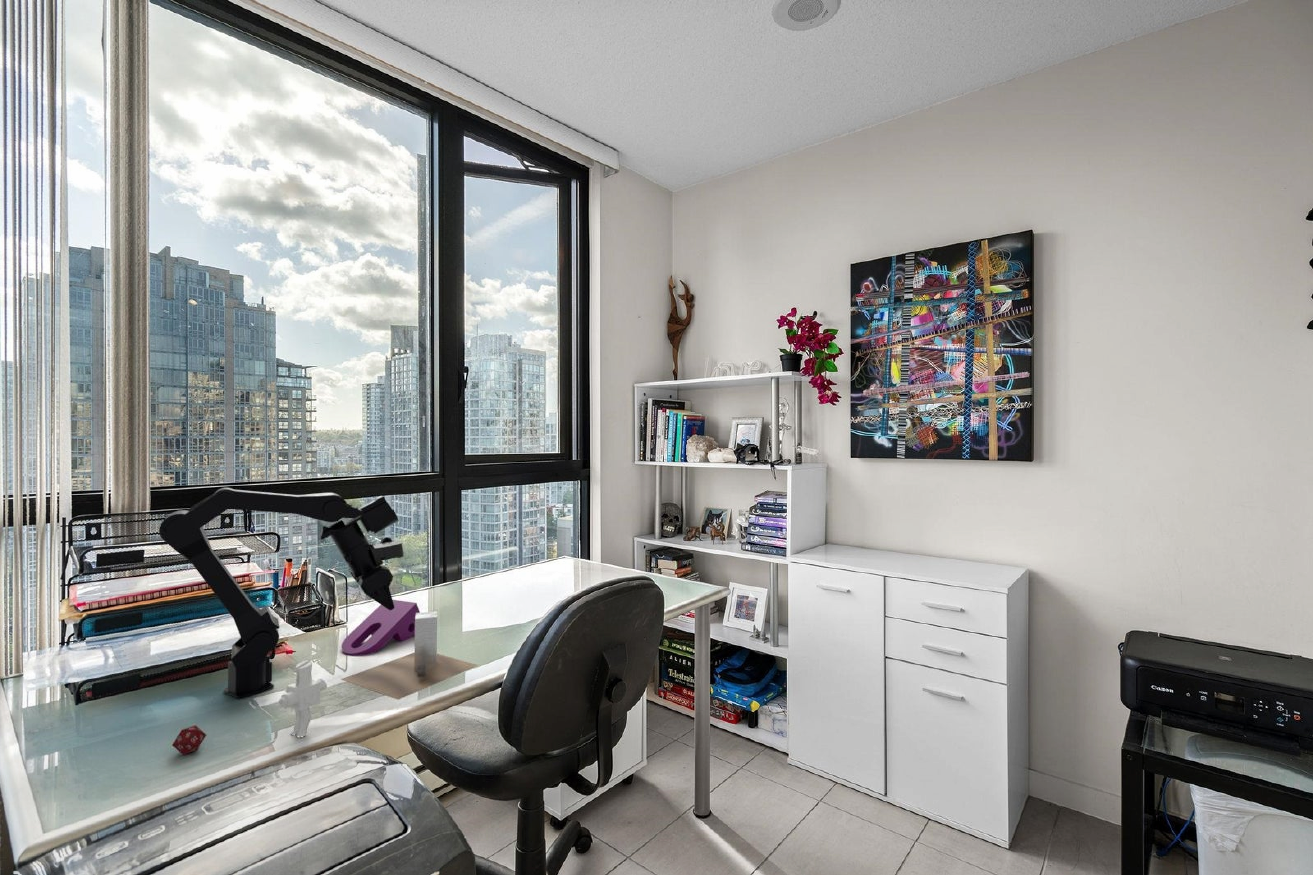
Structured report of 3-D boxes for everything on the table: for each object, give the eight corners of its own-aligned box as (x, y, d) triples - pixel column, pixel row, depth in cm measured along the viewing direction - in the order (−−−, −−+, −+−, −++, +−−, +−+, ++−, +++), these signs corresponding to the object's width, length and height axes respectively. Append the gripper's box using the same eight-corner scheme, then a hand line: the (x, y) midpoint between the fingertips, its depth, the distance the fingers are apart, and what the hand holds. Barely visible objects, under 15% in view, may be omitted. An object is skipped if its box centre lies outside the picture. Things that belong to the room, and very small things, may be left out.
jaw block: (414, 670, 127) (415, 618, 127) (415, 662, 131) (416, 612, 131) (436, 667, 129) (436, 617, 129) (436, 660, 133) (437, 611, 133)
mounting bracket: (375, 683, 137) (426, 628, 152) (363, 656, 134) (416, 602, 149) (345, 677, 140) (397, 624, 156) (332, 650, 137) (387, 598, 152)
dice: (209, 751, 96) (209, 726, 96) (174, 762, 93) (174, 736, 93) (203, 743, 99) (204, 718, 99) (169, 753, 95) (169, 728, 95)
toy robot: (331, 725, 105) (332, 657, 105) (288, 745, 98) (289, 672, 98) (316, 720, 107) (317, 653, 107) (273, 739, 100) (274, 668, 100)
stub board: (397, 705, 113) (398, 682, 113) (340, 684, 122) (341, 663, 122) (477, 670, 130) (477, 650, 130) (422, 654, 139) (422, 635, 139)
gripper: (397, 531, 126) (432, 592, 130) (381, 521, 141) (412, 575, 145) (345, 560, 120) (382, 623, 124) (334, 546, 136) (367, 602, 140)
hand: (388, 604), depth 133 cm, fingers open, 9 cm apart
